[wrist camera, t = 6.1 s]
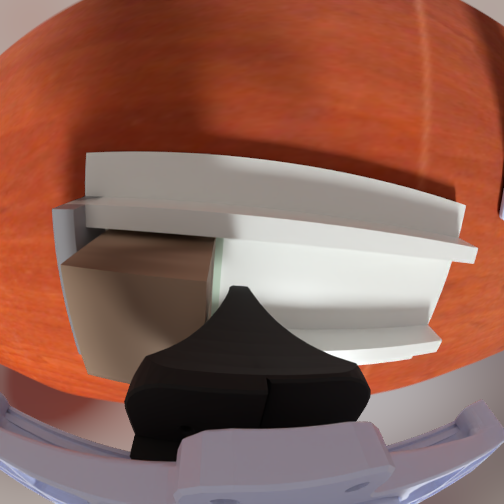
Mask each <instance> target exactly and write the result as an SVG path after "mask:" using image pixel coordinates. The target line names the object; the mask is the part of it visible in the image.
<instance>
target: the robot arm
mask: <svg viewBox="0 0 504 504" xmlns="http://www.w3.org/2000/svg"><path fill="white" fill-rule="evenodd" d="M499 215H500V218H501V219H503V220H504V190H503V196H502V202H501V207H500V213H499ZM370 391H371V390H370V388H369V386H368V384H367V382H366V379H365V377H364V375H363V373H362V372H361V370H360V368H359V367H358V365H357V364H356V363H354V362H351V361H348V360H345V359H342V358H339V357H336V356H333V355H331V354H328V353H326V352H324V351H322V350H320V349H317V348H315V347H314V346H312V345H310V344H308V343H306V342H305V341H303V340H301V339H300V338H298V337H297V336H295V335H294V334H292V333H291V332H290V331H288V330H287V329H286V328H284V327H283V326H282V325H281V324H280V323H278V322H277V321H276V320H275V319H274V318H273V317H272V316H271V315H270V314H269V313H268V312H267V311H266V310H265V308H264V307H263V306H262V305H261V304H260V302H259V301H258V300H257V298H256V297H255V296H254V294H253V293H252V292H251V290H250V289H249V288H248V286H235V285H232V286H231V287H229V291H228V293H227V295H226V297H225V299H224V301H223V302H222V304H221V305H220V307H219V308H218V309H217V310H216V312H215V313H214V314H213V315H212V316H211V318H210V319H209V320H208V321H207V322H206V323H205V324H204V325H203V326H201V327H200V328H199V329H198V330H197V331H195V332H194V333H193V334H191V335H190V336H189V337H187V338H186V339H184V340H182V341H181V342H179V343H177V344H175V345H173V346H171V347H169V348H166V349H164V350H161V351H159V352H156V353H153V354H150V355H147V356H145V358H144V359H143V361H142V362H141V364H140V366H139V367H138V369H137V371H136V372H135V374H134V376H133V378H132V380H131V383H130V386H129V389H128V392H127V395H126V398H125V401H124V403H125V409H126V412H127V415H128V417H129V420H130V423H131V425H132V428H133V430H134V433H135V436H134V441H133V444H132V449H131V452H128V451H125V450H121V449H117V448H113V447H109V446H106V445H103V444H99V443H96V442H92V441H90V440H87V439H83V438H81V437H78V436H75V435H73V434H70V433H67V432H65V431H62V430H60V429H57V428H55V427H53V426H50V425H48V424H46V423H43V422H41V421H39V420H37V419H35V418H33V417H31V416H29V415H27V414H25V413H23V412H21V411H19V410H17V409H15V408H14V407H12V406H10V405H9V403H8V401H7V399H6V398H5V396H4V395H3V394H2V392H1V391H0V470H2V471H3V472H5V473H6V474H7V475H9V476H10V477H12V478H13V479H15V480H16V481H18V482H19V483H21V484H22V485H24V486H25V487H27V488H29V489H30V490H32V491H34V492H35V493H37V494H39V495H41V496H42V497H44V498H46V499H48V500H50V501H51V502H53V503H55V504H417V503H419V502H421V501H423V500H425V499H427V498H429V497H431V496H432V495H434V494H436V493H438V492H439V491H441V490H443V489H445V488H446V487H448V486H449V485H451V484H453V483H454V482H456V481H457V480H459V479H461V478H462V477H464V476H465V475H467V474H468V473H470V472H471V471H472V470H474V469H475V468H476V467H477V466H478V465H480V464H481V463H482V462H483V461H484V460H485V459H486V458H487V457H489V456H490V455H491V454H492V453H493V452H494V451H495V450H496V449H497V448H498V447H499V446H500V445H501V444H502V443H503V442H504V428H503V427H502V425H501V424H500V422H499V421H498V419H497V418H496V417H495V415H494V414H493V413H492V411H491V410H490V408H489V407H488V406H487V404H486V403H485V402H484V401H483V399H481V400H479V401H477V402H475V403H473V404H471V405H469V406H467V407H466V408H464V409H463V410H462V411H461V412H460V413H459V415H458V416H457V417H456V419H455V421H453V422H451V423H448V424H446V425H444V426H441V427H439V428H437V429H434V430H432V431H429V432H427V433H424V434H421V435H419V436H416V437H413V438H410V439H407V440H404V441H401V442H398V443H395V444H391V445H388V446H386V444H385V442H384V440H383V437H382V435H381V433H380V431H379V429H378V428H377V427H376V426H375V425H374V424H373V423H371V422H356V421H357V419H358V418H359V416H360V415H361V413H362V412H363V410H364V408H365V407H366V405H367V403H368V401H369V399H370Z"/></svg>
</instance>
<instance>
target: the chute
mask: <svg viewBox="0 0 504 504" xmlns="http://www.w3.org/2000/svg"><path fill="white" fill-rule="evenodd" d="M465 208H466V205H463V204H460V203H457V202H454V201H451V200H448V199H445V198H442V197H439V196H435V195H432V194H429V193H425V192H422V191H418V190H415V189H411V188H408V187H404V186H400V185H396V184H392V183H388V182H384V181H380V180H376V179H372V178H367V177H363V176H358V175H353V174H349V173H344V172H339V171H333V170H328V169H323V168H317V167H311V166H305V165H299V164H292V163H286V162H278V161H271V160H263V159H255V158H246V157H236V156H225V155H212V154H198V153H179V152H93V153H86V170H85V196H84V197H82V198H79V199H76V200H73V201H71V202H68V203H66V204H63V205H60V206H58V207H55V208H53V209H52V216H53V229H54V239H55V248H56V255H57V262H58V269H59V275H60V280H61V286H62V291H63V296H64V300H65V305H66V309H67V313H68V317H69V321H70V325H71V329H72V332H73V336H74V339H75V342H76V346H77V349H78V352H79V354H81V352H80V348H79V345H78V342H77V338H76V335H75V331H74V328H73V324H72V320H71V316H70V312H69V308H68V303H67V299H66V294H65V289H64V284H63V278H62V273H61V266H60V264H62V263H63V262H64V261H66V260H67V259H68V258H70V257H71V256H72V255H73V254H75V253H76V252H77V251H79V250H80V249H82V248H83V247H84V246H86V245H87V244H88V243H90V242H91V241H93V240H94V239H95V238H97V237H98V236H100V235H101V234H102V233H104V232H105V231H107V230H108V229H118V230H132V231H145V232H158V233H170V234H182V235H194V236H206V237H216V244H215V258H214V273H213V289H212V307H211V316H212V315H213V314H214V313H215V312H216V310H217V309H218V308H219V307H220V305H221V304H222V302H223V301H224V299H225V297H226V295H227V293H228V291H229V287H231V286H232V285H235V286H248V288H249V289H250V290H251V292H252V293H253V294H254V296H255V297H256V298H257V300H258V301H259V302H260V304H261V305H262V306H263V307H264V308H265V310H266V311H267V312H268V313H269V314H270V315H271V316H272V317H273V318H274V319H275V320H276V321H277V322H278V323H280V324H281V325H282V326H283V327H284V328H286V329H287V330H288V331H290V332H291V333H292V334H294V335H295V336H297V337H298V338H300V339H301V340H303V341H305V342H306V343H308V344H310V345H312V346H314V347H315V348H317V349H320V350H322V351H324V352H326V353H328V354H331V355H333V356H336V357H339V358H342V359H345V360H348V361H351V362H354V363H356V364H357V365H365V364H375V363H383V362H391V361H399V360H406V359H411V358H412V356H415V355H421V354H427V353H432V352H436V351H437V349H438V348H439V346H440V344H441V342H442V339H441V338H440V337H439V336H438V335H437V334H436V333H435V332H434V331H433V330H432V329H431V328H430V327H429V326H428V323H429V321H430V319H431V316H432V314H433V312H434V309H435V307H436V304H437V302H438V299H439V297H440V294H441V291H442V289H443V286H444V283H445V280H446V277H447V274H448V271H449V268H450V265H451V262H452V261H456V262H464V263H473V264H474V261H475V258H476V254H477V251H478V248H477V247H475V246H473V245H471V244H469V243H468V242H466V241H464V240H462V239H460V238H459V234H460V230H461V226H462V222H463V217H464V212H465Z"/></svg>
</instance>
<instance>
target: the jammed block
mask: <svg viewBox="0 0 504 504" xmlns="http://www.w3.org/2000/svg"><path fill="white" fill-rule="evenodd" d="M215 244H216V237H206V236H194V235H182V234H170V233H158V232H145V231H132V230H118V229H108V230H107V231H105V232H104V233H102V234H101V235H100V236H98V237H97V238H95V239H94V240H93V241H91V242H90V243H88V244H87V245H86V246H84V247H83V248H82V249H80V250H79V251H77V252H76V253H75V254H73V255H72V256H71V257H70V258H68V259H67V260H66V261H64V262H63V263H62V264H60V266H61V273H62V278H63V284H64V289H65V294H66V299H67V303H68V308H69V312H70V316H71V320H72V324H73V328H74V331H75V335H76V338H77V342H78V345H79V348H80V352H81V355H82V358H83V361H84V364H85V367H86V369H87V372H88V374H90V375H94V376H97V377H101V378H106V379H110V380H114V381H119V382H124V383H128V384H130V383H131V380H132V378H133V376H134V374H135V372H136V371H137V369H138V367H139V366H140V364H141V362H142V361H143V359H144V358H145V356H147V355H150V354H153V353H156V352H159V351H161V350H164V349H166V348H169V347H171V346H173V345H175V344H177V343H179V342H181V341H182V340H184V339H186V338H187V337H189V336H190V335H191V334H193V333H194V332H195V331H197V330H198V329H199V328H200V327H201V326H203V325H204V324H205V323H206V322H207V321H208V320H209V319H210V318H211V307H212V289H213V273H214V258H215Z"/></svg>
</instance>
